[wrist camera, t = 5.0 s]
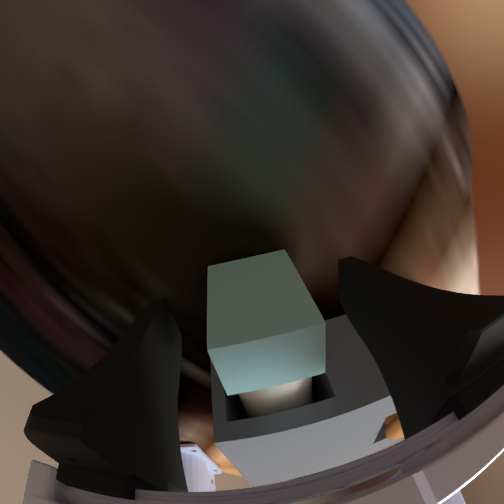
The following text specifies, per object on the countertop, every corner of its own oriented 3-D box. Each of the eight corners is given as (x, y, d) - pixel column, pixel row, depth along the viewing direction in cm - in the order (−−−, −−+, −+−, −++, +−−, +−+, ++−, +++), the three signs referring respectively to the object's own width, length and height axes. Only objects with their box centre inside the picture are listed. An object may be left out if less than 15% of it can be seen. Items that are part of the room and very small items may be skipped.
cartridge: (304, 399, 17) (323, 456, 13) (252, 411, 17) (263, 471, 12) (289, 248, 12) (332, 320, 7) (203, 267, 12) (200, 351, 7)
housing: (402, 370, 19) (435, 421, 13) (242, 420, 18) (252, 486, 13) (425, 286, 15) (482, 342, 9) (210, 347, 14) (214, 442, 9)
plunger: (400, 383, 15) (425, 424, 12) (360, 400, 15) (383, 446, 11) (410, 355, 14) (442, 400, 10) (367, 373, 14) (395, 425, 10)
